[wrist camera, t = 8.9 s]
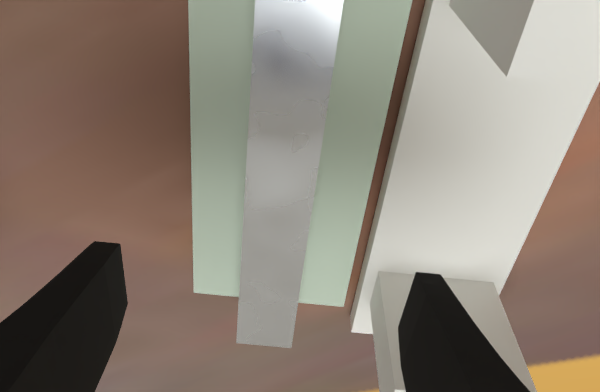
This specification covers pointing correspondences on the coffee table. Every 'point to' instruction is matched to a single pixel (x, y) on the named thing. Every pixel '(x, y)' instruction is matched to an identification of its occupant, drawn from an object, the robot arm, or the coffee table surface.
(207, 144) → the mat
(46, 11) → the coffee table surface
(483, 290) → the rack
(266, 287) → the rail
